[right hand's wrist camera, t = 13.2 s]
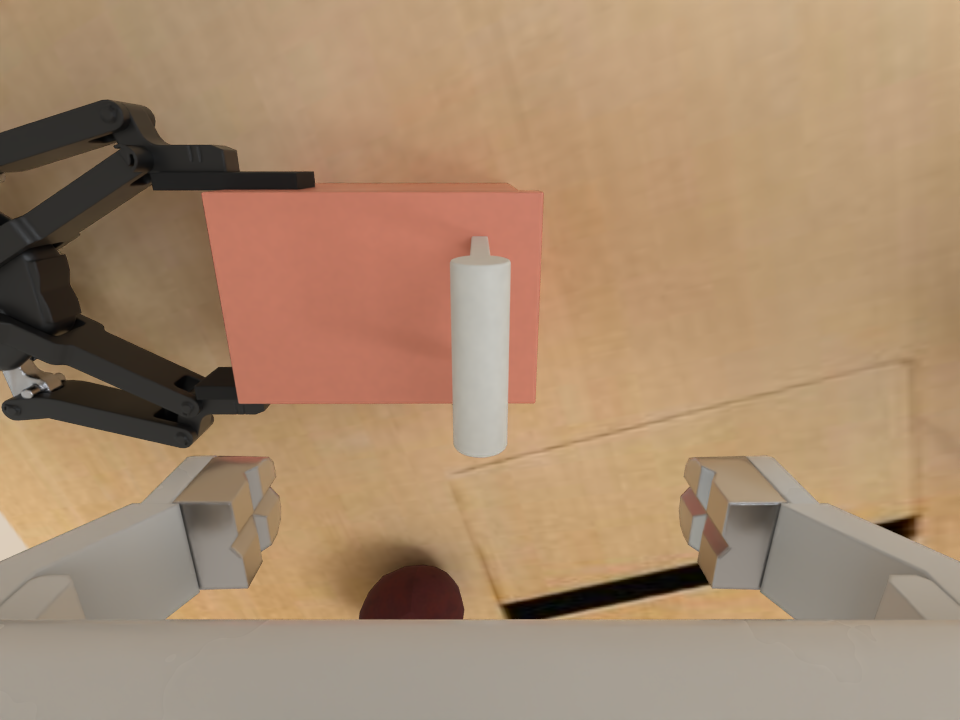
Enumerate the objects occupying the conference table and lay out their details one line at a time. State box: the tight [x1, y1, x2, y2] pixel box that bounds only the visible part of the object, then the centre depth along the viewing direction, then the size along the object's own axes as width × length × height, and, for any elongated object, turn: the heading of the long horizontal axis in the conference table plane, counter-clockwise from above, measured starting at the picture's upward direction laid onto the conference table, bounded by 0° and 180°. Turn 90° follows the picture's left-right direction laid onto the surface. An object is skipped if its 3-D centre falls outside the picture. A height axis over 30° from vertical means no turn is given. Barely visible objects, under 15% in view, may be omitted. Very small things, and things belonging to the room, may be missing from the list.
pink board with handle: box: [201, 191, 544, 458], centre depth 20 cm, size 14×10×9 cm
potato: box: [359, 565, 464, 620], centre depth 38 cm, size 7×8×7 cm
